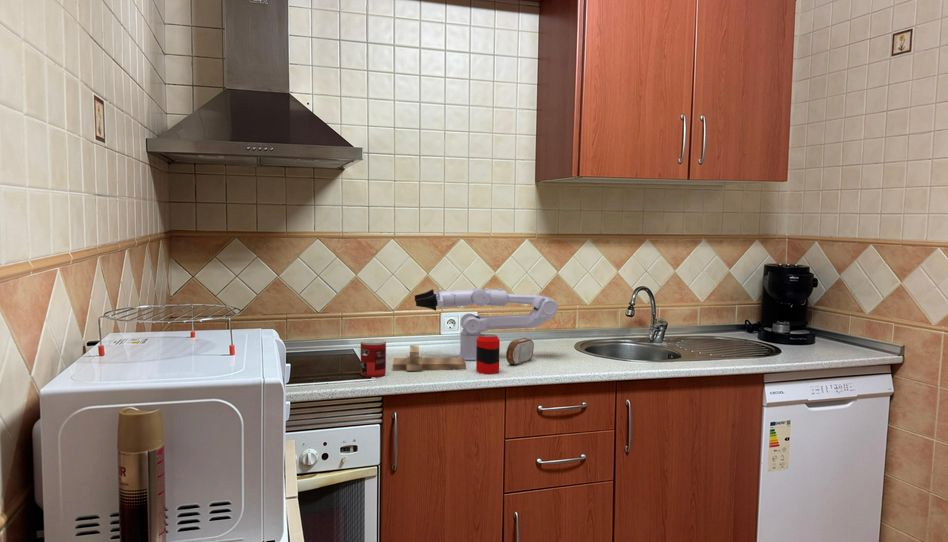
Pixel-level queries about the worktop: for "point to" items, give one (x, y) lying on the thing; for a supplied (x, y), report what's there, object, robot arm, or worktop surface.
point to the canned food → (373, 357)
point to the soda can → (487, 354)
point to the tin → (519, 351)
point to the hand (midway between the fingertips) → (415, 300)
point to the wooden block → (414, 359)
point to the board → (432, 363)
